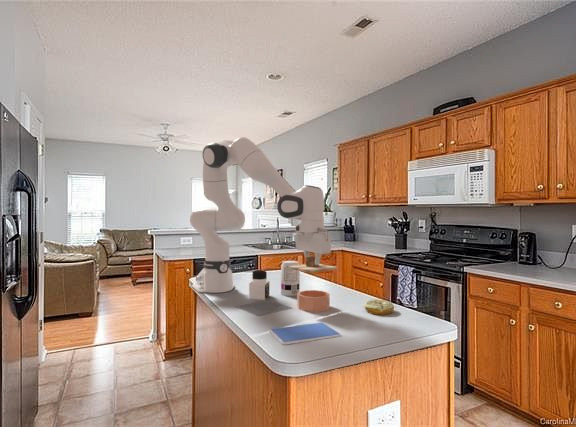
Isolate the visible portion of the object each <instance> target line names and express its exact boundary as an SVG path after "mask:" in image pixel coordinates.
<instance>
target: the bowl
mask: <svg viewBox="0 0 576 427" xmlns="http://www.w3.org/2000/svg"><path fill="white" fill-rule="evenodd" d="M330 295H331V294H330V293H329V292H328V291H324V290H316V289H308V290H307V289H306V290H301V291H300V290H299V293H297V296H296V297H297V298H296V299H297V300H296V301H297V302H296V303H297V304H296V306H297V309H298V310H300V311H303V312H311V313H312V312H313V313H317V312H318V313H320V312H326V311H328V310H329V309H330V305H331V304H330V299H331V298H330V297H331V296H330Z"/></svg>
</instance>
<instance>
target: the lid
mask: <svg viewBox="0 0 576 427" xmlns="http://www.w3.org/2000/svg"><path fill="white" fill-rule="evenodd" d="M315 257H316V256H310V257H306V258H305V263H301V264H299V265H291V266H287V268H289V269H294V270H299V271H300V272H306V273H309V274H313V273H314V274H315V273H321V272H329V271H336V270H339V266H334V265H327V264H322V263H320V264H319V265H314V260H315Z"/></svg>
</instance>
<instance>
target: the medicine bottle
mask: <svg viewBox="0 0 576 427" xmlns="http://www.w3.org/2000/svg"><path fill="white" fill-rule="evenodd" d="M267 275H268V274H267V271H266V270H264V269H257V270H254V271H252V281H251V282H249V283H248V284H249V286H248V292H249V293H248V295H249V296H248V297H249V298H248V299H250V300H261V301H264V300H268V298H269V297H270V280H267V279H268V278H267Z"/></svg>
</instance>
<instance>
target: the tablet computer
mask: <svg viewBox="0 0 576 427" xmlns="http://www.w3.org/2000/svg"><path fill="white" fill-rule="evenodd" d="M268 332H269V333H270V334H271V336H273V337H274V338H275V339H276V340H277V341H278V342H279V343H280V344H281V345H282V346H283V345H284V346H285V345H286V346H287V345H291V344H298V343H299V344H300V343H304V342H312V341H319V340H327V339H335V338H340V337H342V334H341V333H340V332H338V331H337V330H336V329H334V328H332V327H330V326H329V325H327V324H326V323H324V322H316V323H309V324H301V325H292V326H283V327H277V328H275V327H274V328H270V329H269V331H268ZM326 338H327V339H326Z"/></svg>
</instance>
